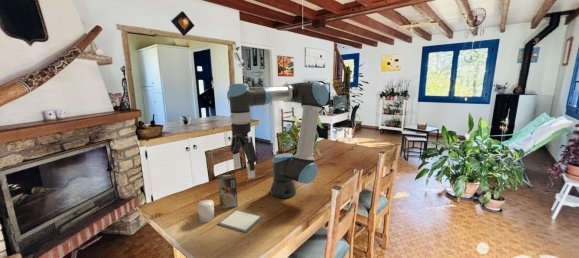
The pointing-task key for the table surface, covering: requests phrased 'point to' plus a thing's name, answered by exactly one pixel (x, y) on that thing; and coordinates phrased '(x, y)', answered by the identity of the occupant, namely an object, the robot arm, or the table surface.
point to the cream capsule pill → (206, 211)
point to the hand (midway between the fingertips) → (244, 172)
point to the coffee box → (227, 190)
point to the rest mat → (240, 220)
